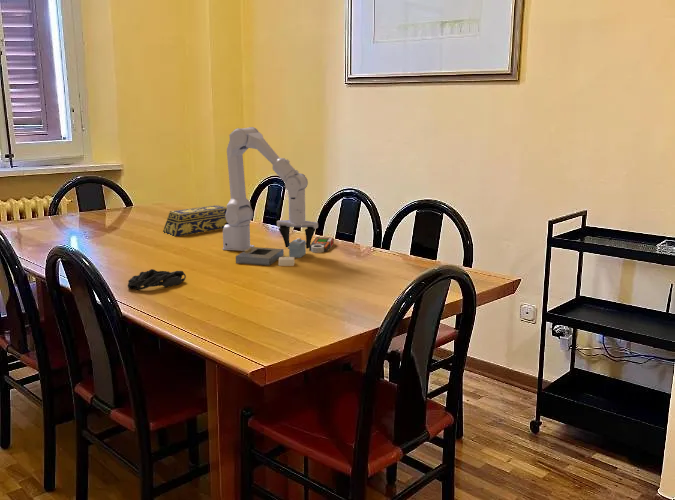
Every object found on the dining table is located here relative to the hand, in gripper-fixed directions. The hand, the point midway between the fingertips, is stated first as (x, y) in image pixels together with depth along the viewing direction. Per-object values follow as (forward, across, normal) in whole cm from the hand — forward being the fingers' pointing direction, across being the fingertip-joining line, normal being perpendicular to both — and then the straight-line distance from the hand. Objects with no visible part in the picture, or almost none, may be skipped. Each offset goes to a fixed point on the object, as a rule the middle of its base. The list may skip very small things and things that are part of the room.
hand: (297, 247), depth 233 cm
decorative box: (+3, -54, +31) cm, 62 cm away
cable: (+3, -31, -45) cm, 55 cm away
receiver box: (+3, 0, -13) cm, 13 cm away
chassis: (+3, -11, -9) cm, 14 cm away
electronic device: (+3, +5, +13) cm, 14 cm away
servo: (+3, 0, 0) cm, 3 cm away
